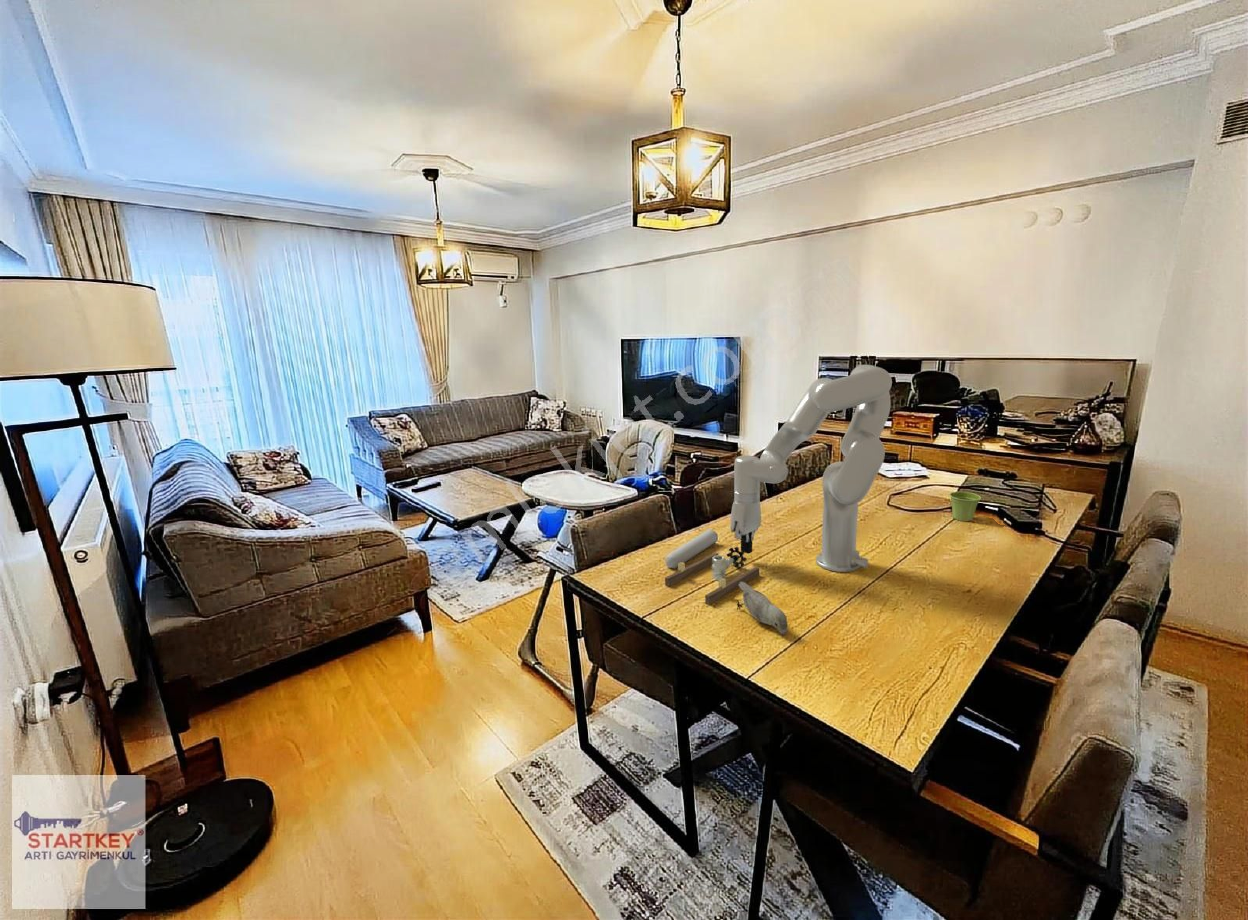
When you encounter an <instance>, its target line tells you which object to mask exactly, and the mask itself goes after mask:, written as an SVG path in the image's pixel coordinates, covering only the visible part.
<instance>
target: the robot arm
mask: <svg viewBox="0 0 1248 920" xmlns="http://www.w3.org/2000/svg"><path fill="white" fill-rule="evenodd" d="M892 384H893V381H892V377H891V374H890V373H889V372H888V371H887V370H886V369H884V368H883V367H879V366H876V365H872V364H861V365H858V366H856V367H854V368H853V369H852V370H851V372H850V375H847V376H844V377H843V376H842V377H840V378H836V379H831V378H829V377H821V378H817V379H816V380H814V381H813V382H812V384H810V386H809V388H808V389H807V390H806V392H805V393H804V395H803V396H802V398H801V399H800V400H799V403H798V404H797V405H796V407H795V408H794V410H793V411H792V413H791V415H790V416H789V418H788V419H787V420H786V421H785V423H783V425H782V426H781V427H780V429H779V430H778V431H777V432H776V433H775V435H774V436H773V437H772V438H771V440H770V441H769V442H768V444H767V446H766V447H765V448H764V450H763V452H762V453H761V455H760V458H758V457H757V456H754V455H740V456H737V457H736V458H735V459H734V466H733V467H734V468H733V469H734V473H733V474H734V476H733V479H734V481H733V482H734V489H733V490H734V492H733V494H734V495H733V497H734V499H733V503H732V506H731V513H730V532H732V533H734V539H737V540H739V541H740V552H741V551H744V554H748V555H749V554H751V553H753V540H754V537H755V533H756V532H758V530H759V528H760V527H761V525H762V524H761V523H762V511H761V509H762V507H761V501H760V495H761V494H760V493H761V492H760V491H761V489H760V488H761V483H767V484H779V483H782V482H783V481H785V480H786V478H787V477H788V473H789V470H788V466H787V464H786V462H787V461H788V459H789V457H790V456H791V454H792V453H793V452H794V450H795V449H796V448H798V446H799V445H800V444H802V443H803V442H805V441H808V440H810V439H811V438H813V436H814V435H815V434H816V433H817V431H818V429H819V428H820V427H821V425H822V424H823V422H824V421H825V419H826V418H827V417H828V415H829V414H830V413H833V412H838V411H843V410H847V409H851V408H854V407H856V408H855V411H854V414H853V416H852V419H851V421H850V423H849V425H848V427H847V430H846V432H845V434H844V436H843V437H842V439H841V442H840V452H841V454H842V455H843V456H844V459H843V461H835V462H833V463H831V464H829V465H828V466H827V467H826V468H825V470H824V472H823V475H822V495H823V496H822V497H823V500H822V502H823V503H822V505H823V506H822V527H821V528H822V534H821V552H820V553H818V554H817V555H816V556H815V563H816V564H817V565H818V566H820V567H821V568H823V569H825V570H829V571H832V572H838V573H849V572H854V571H857V570H859V569H860V568H865V569H867V568H868V567H869V561H868V560H869V559H868V558H867V557H862V556H861V555H860V550H857V549H856V548H857V532H858V515H859V514H858V513H859V503H860V502H862V500H864V499H865V497H866V496H867V495H868V493H869V491H870V489H871V487H872V486H873V483H874V481H875V479H876V478H877V475H878V473H879V472H880V469H881V467H882V465H883V463H884V460H885V454H886V449H885V446H884V443H883V442H882V441H881V439H880V437H881V434H882V432H883V430H884V428H885V425H886V423H887V421H888V418H889V416H890V412H891V405H892V404H891V401H892V400H891V395H890V390H891V389H892Z"/></svg>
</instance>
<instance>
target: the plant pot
mask: <svg viewBox="0 0 1248 920" xmlns="http://www.w3.org/2000/svg"><path fill="white" fill-rule="evenodd" d="M949 497H950V500H951V511H952V512H951V513H952V514H951V516H952V518H953V519H954V520H957V521H960V522H968V521H970V522H971V521H973V519H974V516H975V512H976V509H977V506H978V504H979V502H980V500H982V496H981V495H978V494H976V493H973V492H968V491H954V492H950V493H949Z"/></svg>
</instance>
